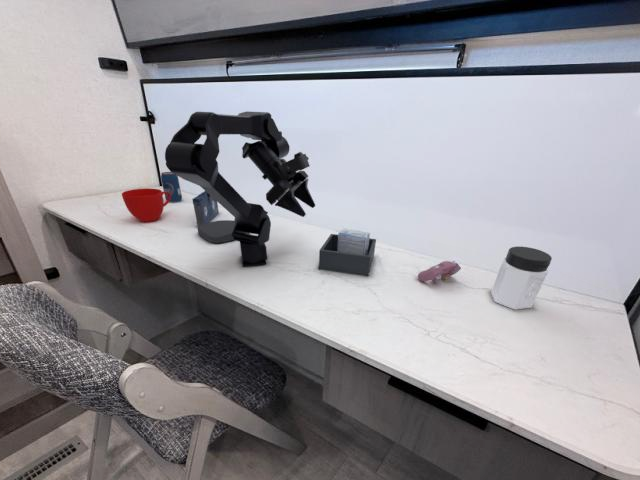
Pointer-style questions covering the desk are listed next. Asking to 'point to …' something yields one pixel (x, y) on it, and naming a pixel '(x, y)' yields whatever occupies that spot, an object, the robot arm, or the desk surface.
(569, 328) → the desk surface
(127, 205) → the ceramic cup
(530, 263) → the jar
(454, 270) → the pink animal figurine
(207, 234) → the media streaming box
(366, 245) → the medicine box
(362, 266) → the storage bin
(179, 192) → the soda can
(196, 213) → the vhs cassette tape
